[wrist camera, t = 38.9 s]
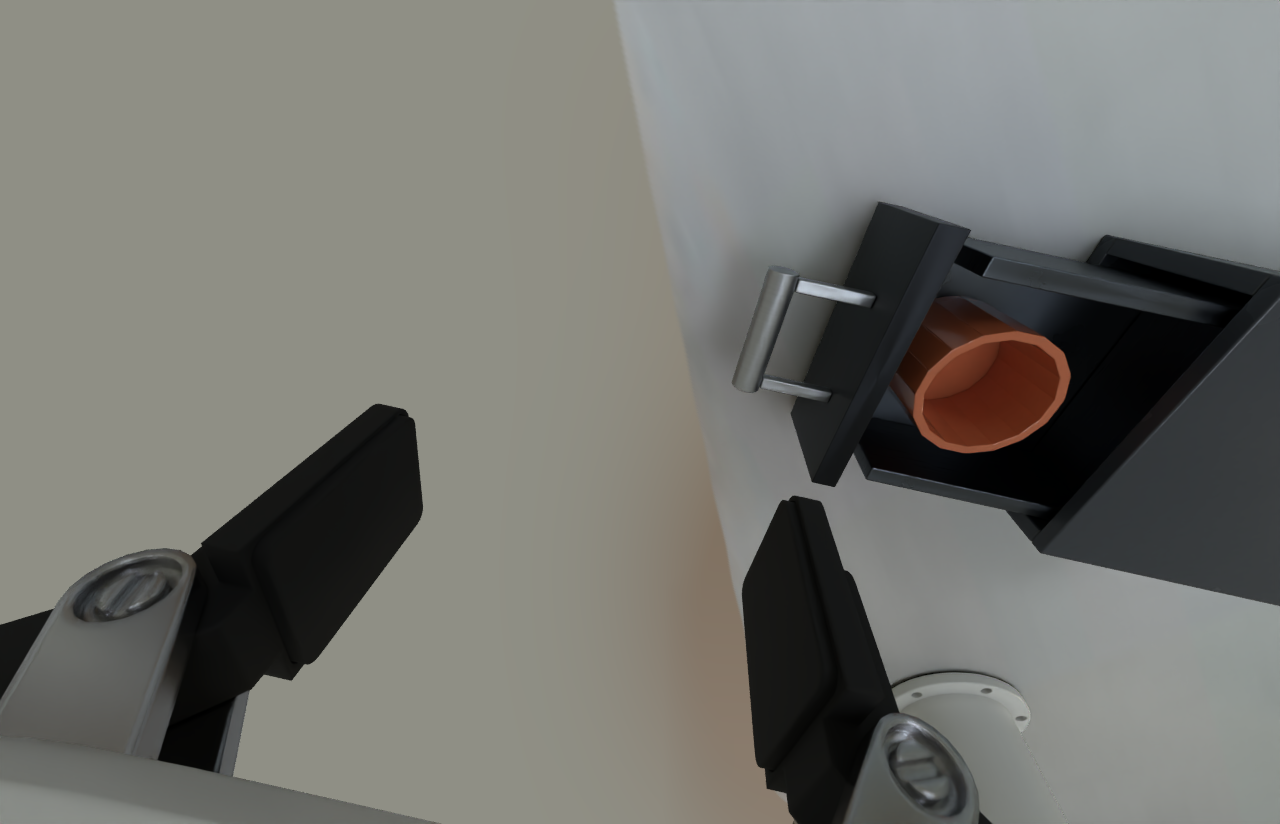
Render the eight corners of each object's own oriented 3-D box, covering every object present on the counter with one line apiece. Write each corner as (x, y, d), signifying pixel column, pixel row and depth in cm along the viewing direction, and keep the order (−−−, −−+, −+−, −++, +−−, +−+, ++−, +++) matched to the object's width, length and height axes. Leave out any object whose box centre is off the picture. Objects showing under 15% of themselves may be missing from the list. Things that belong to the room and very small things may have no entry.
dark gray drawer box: (957, 451, 30) (1039, 553, 22) (1104, 234, 23) (1296, 279, 15) (1195, 503, 30) (1357, 624, 22) (1419, 300, 22) (1766, 378, 15)
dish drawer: (713, 396, 29) (715, 461, 23) (779, 180, 22) (805, 194, 17) (1018, 463, 29) (1097, 545, 23) (1173, 263, 22) (1339, 307, 16)
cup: (962, 409, 26) (1014, 464, 22) (858, 387, 26) (890, 437, 22) (1027, 309, 23) (1104, 349, 19) (909, 284, 23) (958, 318, 19)
